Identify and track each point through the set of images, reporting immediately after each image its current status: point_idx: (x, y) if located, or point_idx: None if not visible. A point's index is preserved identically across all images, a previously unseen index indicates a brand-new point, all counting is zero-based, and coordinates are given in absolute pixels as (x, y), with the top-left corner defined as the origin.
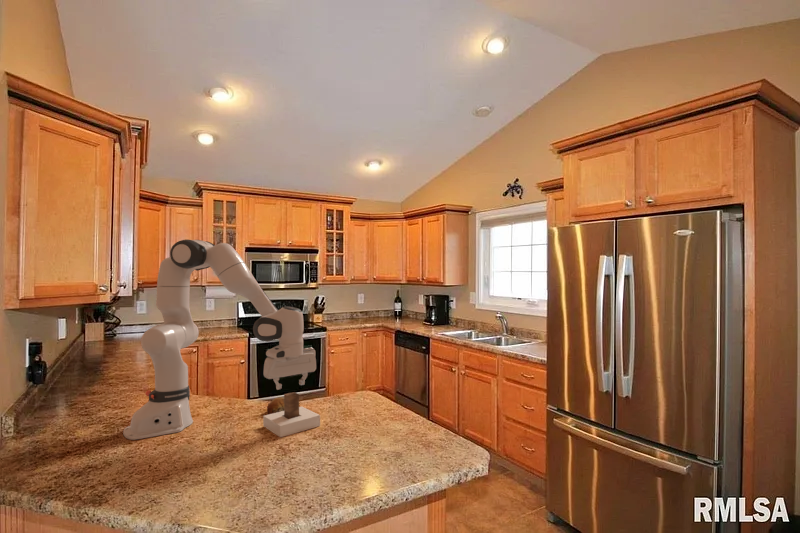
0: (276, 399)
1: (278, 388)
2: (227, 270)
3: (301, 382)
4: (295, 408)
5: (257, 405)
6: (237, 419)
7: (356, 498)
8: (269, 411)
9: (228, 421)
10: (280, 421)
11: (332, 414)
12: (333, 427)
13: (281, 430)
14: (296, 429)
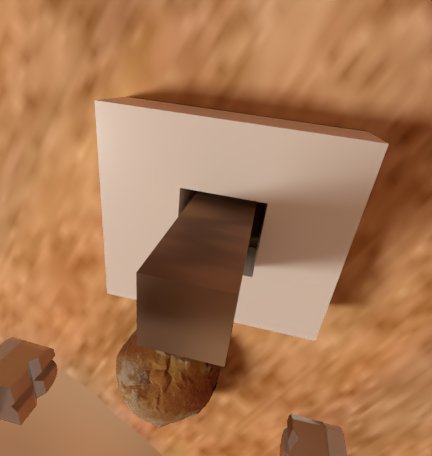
0: (167, 412)
1: (339, 436)
2: None
3: (26, 369)
4: (203, 224)
5: (188, 444)
6: (316, 418)
7: None
8: (216, 375)
9: (350, 428)
10: (325, 209)
11: (13, 176)
12: (82, 8)
13: (371, 137)
14: (268, 120)
